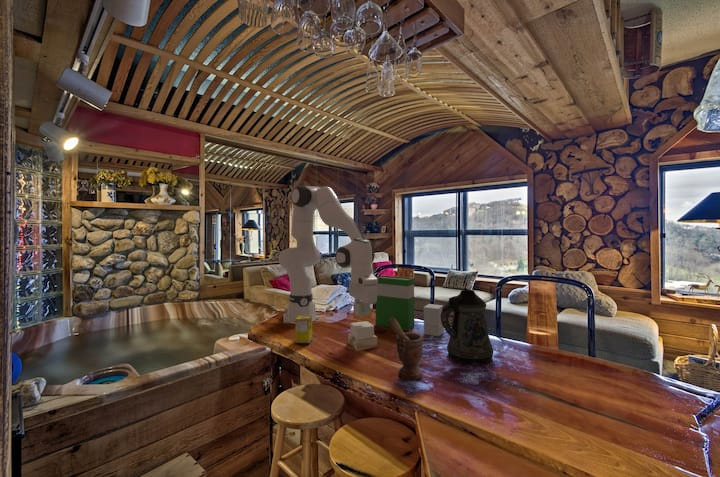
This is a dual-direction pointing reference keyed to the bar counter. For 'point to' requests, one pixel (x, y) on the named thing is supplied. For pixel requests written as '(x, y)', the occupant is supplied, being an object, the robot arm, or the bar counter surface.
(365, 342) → the tower base
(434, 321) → the supplement box
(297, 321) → the supplement box
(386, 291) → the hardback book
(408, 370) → the mortar and pestle
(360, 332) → the tower top
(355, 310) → the sage block
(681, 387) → the bar counter surface
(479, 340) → the beer stein
